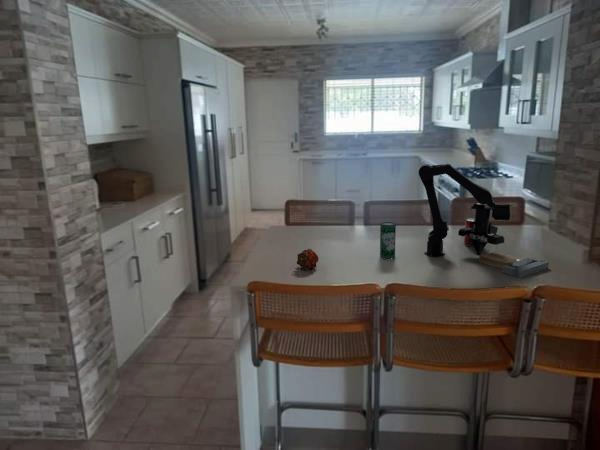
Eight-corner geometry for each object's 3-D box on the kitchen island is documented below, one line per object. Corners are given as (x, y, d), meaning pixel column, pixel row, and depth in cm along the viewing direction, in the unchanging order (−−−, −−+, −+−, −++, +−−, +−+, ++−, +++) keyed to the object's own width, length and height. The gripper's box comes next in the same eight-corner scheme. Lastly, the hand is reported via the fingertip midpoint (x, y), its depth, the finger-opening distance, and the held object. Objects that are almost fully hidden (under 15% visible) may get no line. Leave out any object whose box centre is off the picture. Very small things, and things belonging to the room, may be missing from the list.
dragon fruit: (303, 277, 176) (308, 271, 188) (321, 264, 174) (324, 259, 186) (291, 259, 176) (296, 254, 188) (308, 247, 174) (312, 243, 186)
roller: (515, 273, 170) (520, 266, 168) (507, 267, 173) (512, 259, 171) (529, 269, 175) (534, 261, 173) (521, 262, 178) (526, 255, 175)
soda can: (462, 246, 205) (464, 220, 202) (465, 242, 211) (466, 217, 209) (479, 247, 202) (481, 221, 199) (481, 243, 208) (483, 218, 205)
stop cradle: (520, 277, 164) (520, 271, 163) (503, 272, 170) (503, 266, 169) (548, 268, 173) (548, 262, 172) (530, 263, 179) (531, 257, 178)
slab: (505, 270, 173) (506, 263, 172) (479, 262, 183) (479, 255, 182) (521, 265, 178) (521, 258, 177) (494, 258, 188) (495, 251, 187)
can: (384, 260, 188) (384, 225, 185) (377, 256, 194) (378, 222, 191) (397, 258, 190) (397, 224, 186) (390, 254, 196) (391, 221, 192)
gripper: (514, 221, 181) (510, 257, 185) (475, 213, 197) (473, 247, 200) (496, 224, 175) (493, 262, 179) (458, 216, 191) (456, 251, 195)
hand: (478, 255), depth 188 cm, fingers closed
